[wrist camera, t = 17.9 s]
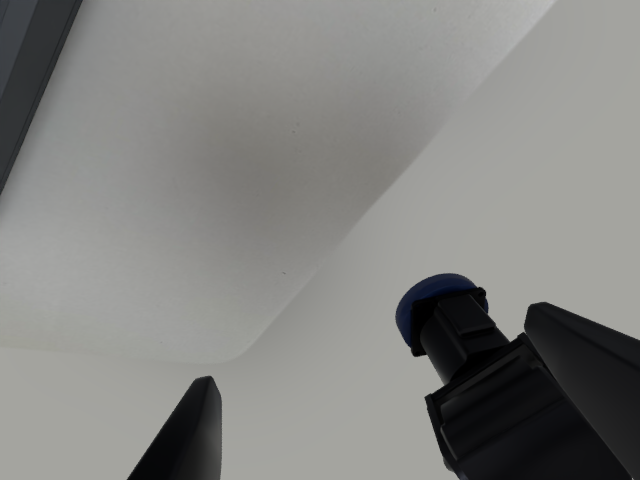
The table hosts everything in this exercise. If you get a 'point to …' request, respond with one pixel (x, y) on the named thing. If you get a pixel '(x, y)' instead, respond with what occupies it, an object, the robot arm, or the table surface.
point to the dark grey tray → (27, 65)
